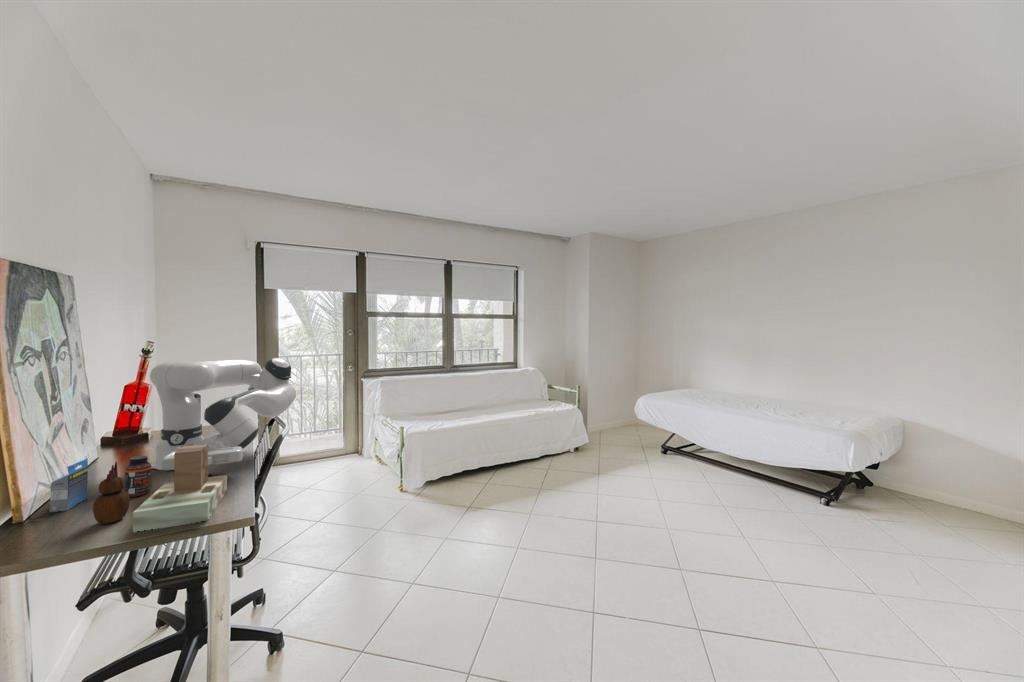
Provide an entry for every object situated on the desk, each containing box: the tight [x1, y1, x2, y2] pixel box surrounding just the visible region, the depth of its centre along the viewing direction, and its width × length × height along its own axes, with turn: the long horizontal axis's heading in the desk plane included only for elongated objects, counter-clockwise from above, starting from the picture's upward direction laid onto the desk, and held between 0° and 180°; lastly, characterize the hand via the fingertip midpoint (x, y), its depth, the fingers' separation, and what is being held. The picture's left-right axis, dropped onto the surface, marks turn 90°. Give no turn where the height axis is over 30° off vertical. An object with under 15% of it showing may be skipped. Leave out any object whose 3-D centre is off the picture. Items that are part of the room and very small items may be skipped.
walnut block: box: [173, 444, 209, 492], centre depth 116 cm, size 8×6×11 cm
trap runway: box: [132, 474, 228, 533], centre depth 112 cm, size 23×15×5 cm, turn 25°
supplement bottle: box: [124, 455, 152, 498], centre depth 122 cm, size 6×6×11 cm
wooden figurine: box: [92, 461, 131, 525], centre depth 104 cm, size 7×6×15 cm
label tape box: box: [49, 457, 89, 513], centre depth 113 cm, size 9×4×12 cm, turn 22°
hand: (198, 464), depth 120 cm, fingers closed, pressing on walnut block
